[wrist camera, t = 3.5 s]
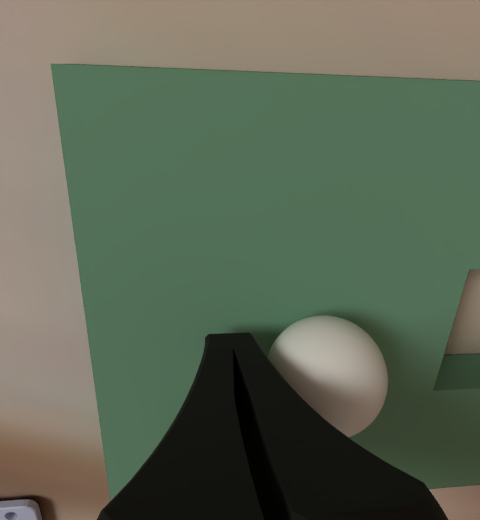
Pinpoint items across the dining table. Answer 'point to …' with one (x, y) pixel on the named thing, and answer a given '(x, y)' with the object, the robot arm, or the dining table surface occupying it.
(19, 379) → the dining table surface
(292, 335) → the ball
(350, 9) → the dining table surface
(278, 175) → the putting deck
